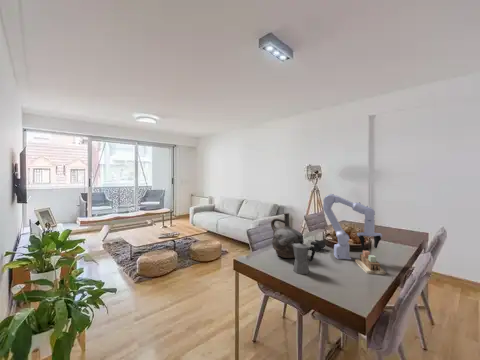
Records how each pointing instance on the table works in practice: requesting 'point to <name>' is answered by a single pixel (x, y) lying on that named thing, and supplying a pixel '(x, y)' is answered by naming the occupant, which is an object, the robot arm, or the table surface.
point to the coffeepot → (302, 257)
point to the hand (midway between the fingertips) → (369, 247)
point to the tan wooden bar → (370, 263)
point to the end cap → (318, 245)
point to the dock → (368, 268)
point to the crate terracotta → (366, 253)
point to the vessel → (285, 238)
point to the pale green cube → (371, 258)
